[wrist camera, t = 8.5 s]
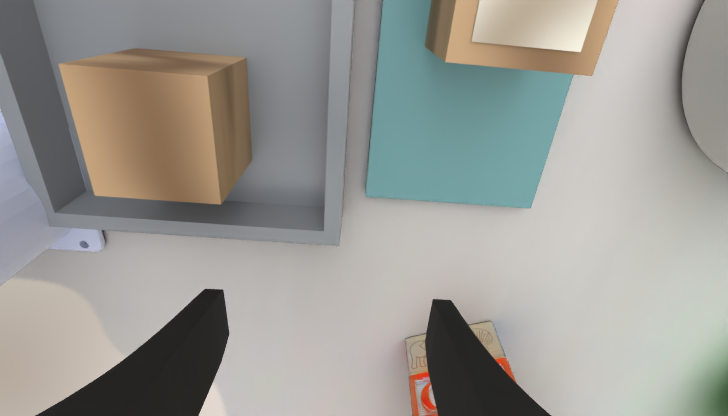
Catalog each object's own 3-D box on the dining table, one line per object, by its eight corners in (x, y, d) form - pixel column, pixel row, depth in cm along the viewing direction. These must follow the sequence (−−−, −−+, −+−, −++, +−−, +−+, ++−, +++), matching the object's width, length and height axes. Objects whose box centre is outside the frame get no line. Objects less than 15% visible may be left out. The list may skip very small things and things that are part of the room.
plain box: (154, 152, 20) (94, 195, 16) (135, 48, 18) (58, 63, 13) (252, 159, 20) (221, 204, 16) (246, 57, 18) (207, 76, 13)
